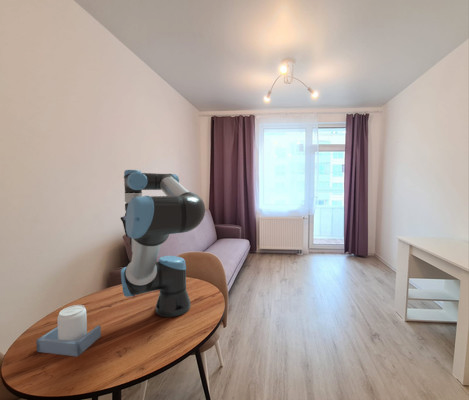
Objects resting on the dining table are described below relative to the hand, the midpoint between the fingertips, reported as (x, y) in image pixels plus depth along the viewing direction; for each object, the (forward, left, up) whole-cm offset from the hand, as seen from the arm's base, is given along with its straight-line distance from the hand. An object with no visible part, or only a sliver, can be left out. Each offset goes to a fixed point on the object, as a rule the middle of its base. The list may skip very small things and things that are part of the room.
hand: (134, 251), depth 105 cm
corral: (+5, +31, -24) cm, 40 cm away
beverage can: (+4, +31, -25) cm, 40 cm away
